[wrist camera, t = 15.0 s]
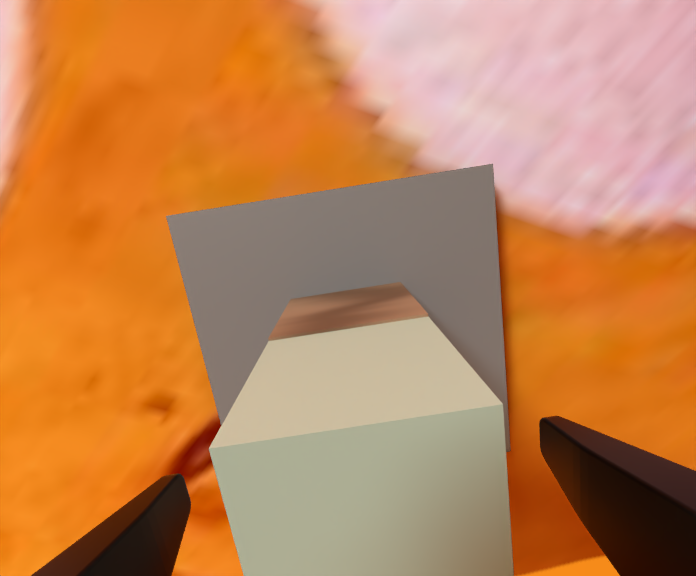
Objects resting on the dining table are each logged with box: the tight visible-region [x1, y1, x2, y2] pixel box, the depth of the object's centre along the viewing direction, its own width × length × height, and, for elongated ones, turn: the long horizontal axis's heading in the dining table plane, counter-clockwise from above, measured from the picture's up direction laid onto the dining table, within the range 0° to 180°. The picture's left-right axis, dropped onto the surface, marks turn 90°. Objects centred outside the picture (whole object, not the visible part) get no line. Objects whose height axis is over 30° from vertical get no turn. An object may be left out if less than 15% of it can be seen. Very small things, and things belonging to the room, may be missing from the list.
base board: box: [166, 164, 510, 452], centre depth 17 cm, size 14×14×2 cm
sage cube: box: [209, 317, 514, 576], centre depth 9 cm, size 5×5×5 cm
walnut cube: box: [268, 282, 428, 341], centre depth 14 cm, size 5×5×5 cm
